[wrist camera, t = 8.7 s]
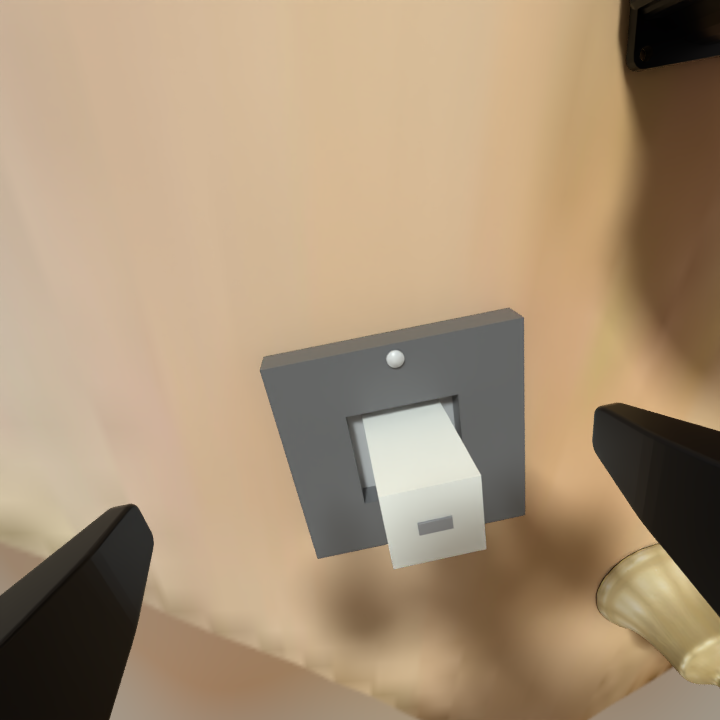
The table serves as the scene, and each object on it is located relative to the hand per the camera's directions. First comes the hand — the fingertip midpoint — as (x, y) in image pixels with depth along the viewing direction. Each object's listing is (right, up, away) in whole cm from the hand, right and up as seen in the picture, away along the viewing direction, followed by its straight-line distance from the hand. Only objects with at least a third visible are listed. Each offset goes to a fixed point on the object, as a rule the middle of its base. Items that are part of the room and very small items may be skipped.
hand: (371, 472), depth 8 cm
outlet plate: (+2, -2, +14) cm, 15 cm away
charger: (+2, -2, +14) cm, 14 cm away
